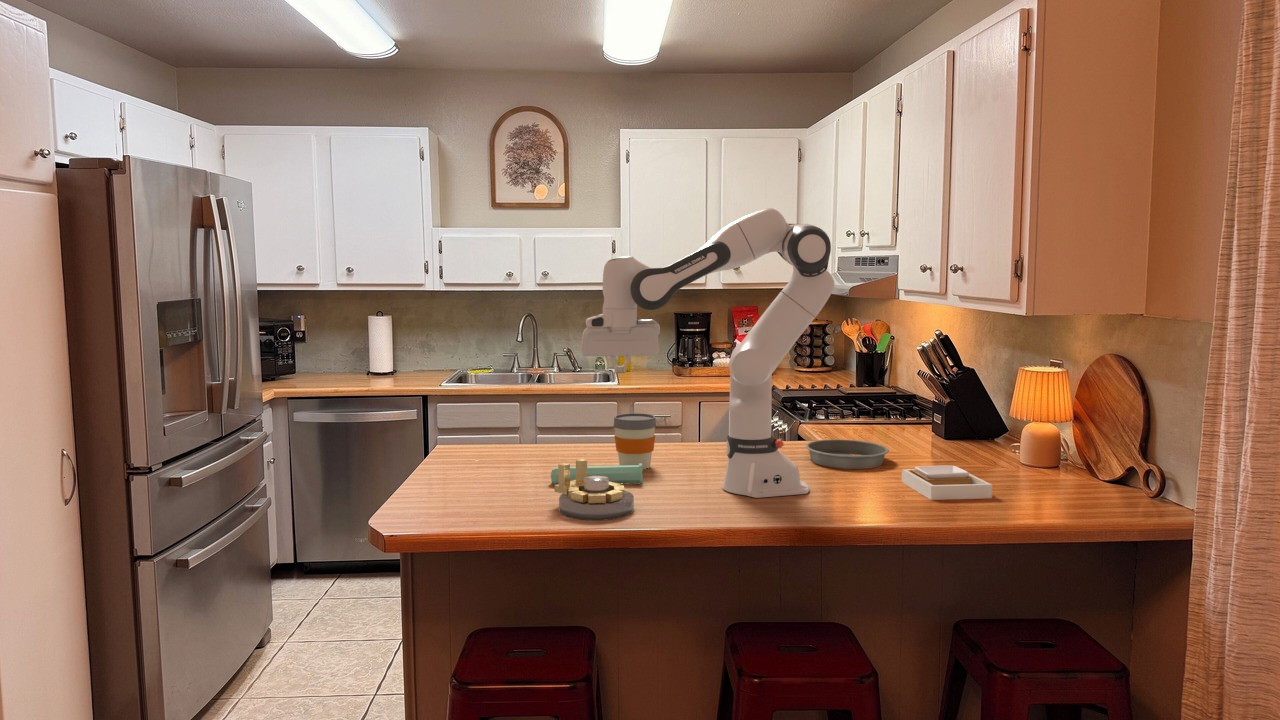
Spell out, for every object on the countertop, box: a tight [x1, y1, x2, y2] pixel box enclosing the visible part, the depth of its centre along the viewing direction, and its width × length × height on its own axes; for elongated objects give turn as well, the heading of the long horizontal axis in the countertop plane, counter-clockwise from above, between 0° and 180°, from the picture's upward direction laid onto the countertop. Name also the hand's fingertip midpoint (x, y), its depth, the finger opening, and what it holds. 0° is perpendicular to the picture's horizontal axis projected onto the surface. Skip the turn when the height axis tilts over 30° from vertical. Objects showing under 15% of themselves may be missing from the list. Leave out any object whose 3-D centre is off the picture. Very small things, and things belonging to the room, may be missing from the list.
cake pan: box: [805, 438, 890, 470], centre depth 249 cm, size 25×25×4 cm
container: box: [549, 463, 644, 486], centre depth 222 cm, size 6×6×25 cm
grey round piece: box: [558, 476, 635, 521], centre depth 197 cm, size 18×18×8 cm
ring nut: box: [554, 458, 626, 503], centre depth 198 cm, size 17×13×7 cm
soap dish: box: [912, 465, 972, 485], centre depth 218 cm, size 12×10×5 cm
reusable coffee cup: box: [613, 412, 657, 470], centre depth 241 cm, size 13×13×15 cm
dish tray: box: [901, 468, 993, 501], centre depth 215 cm, size 16×18×4 cm
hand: (620, 373), depth 212 cm, fingers closed
